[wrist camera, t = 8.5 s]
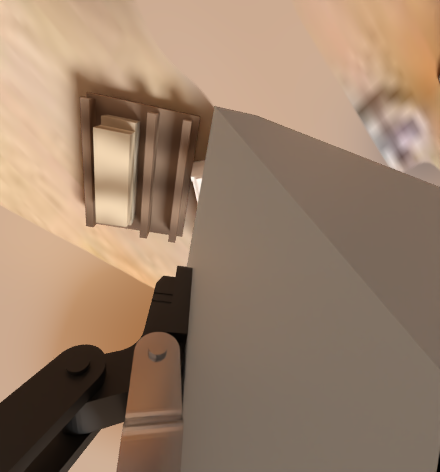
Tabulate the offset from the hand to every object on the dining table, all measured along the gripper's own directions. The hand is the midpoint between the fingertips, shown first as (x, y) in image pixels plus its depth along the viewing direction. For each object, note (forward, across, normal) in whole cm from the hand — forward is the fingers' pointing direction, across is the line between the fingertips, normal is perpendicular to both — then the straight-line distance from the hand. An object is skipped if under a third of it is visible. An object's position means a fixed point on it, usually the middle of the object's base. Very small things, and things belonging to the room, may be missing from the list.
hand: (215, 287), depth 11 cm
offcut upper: (+25, +12, +4) cm, 28 cm away
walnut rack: (+29, +9, +4) cm, 31 cm away
